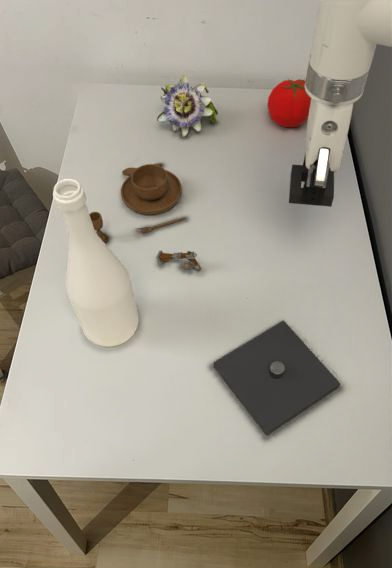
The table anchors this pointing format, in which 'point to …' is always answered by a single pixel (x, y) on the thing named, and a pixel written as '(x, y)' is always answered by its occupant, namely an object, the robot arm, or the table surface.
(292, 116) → the tomato
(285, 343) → the base pad
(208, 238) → the table surface
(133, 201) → the place setting
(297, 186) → the black block
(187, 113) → the passion flower
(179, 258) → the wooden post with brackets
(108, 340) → the wine bottle
